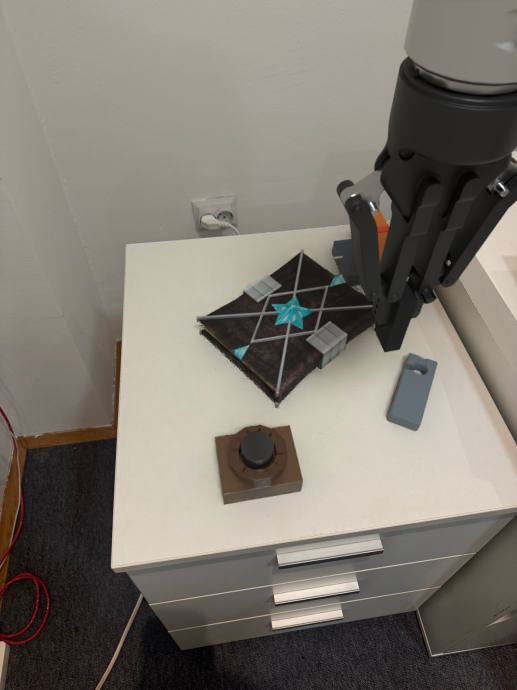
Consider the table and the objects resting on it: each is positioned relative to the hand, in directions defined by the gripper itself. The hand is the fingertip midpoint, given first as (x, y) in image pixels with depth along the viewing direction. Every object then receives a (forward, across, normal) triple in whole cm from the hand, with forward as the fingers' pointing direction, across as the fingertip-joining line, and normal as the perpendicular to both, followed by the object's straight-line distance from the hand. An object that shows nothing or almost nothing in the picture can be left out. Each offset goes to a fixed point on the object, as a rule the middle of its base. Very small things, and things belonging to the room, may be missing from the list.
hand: (386, 339), depth 44 cm
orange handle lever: (+17, +12, +29) cm, 36 cm away
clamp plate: (+20, +12, +29) cm, 37 cm away
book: (+20, -4, +19) cm, 28 cm away
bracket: (+20, +9, +5) cm, 23 cm away
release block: (+20, -13, -1) cm, 24 cm away
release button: (+15, -13, -1) cm, 20 cm away
